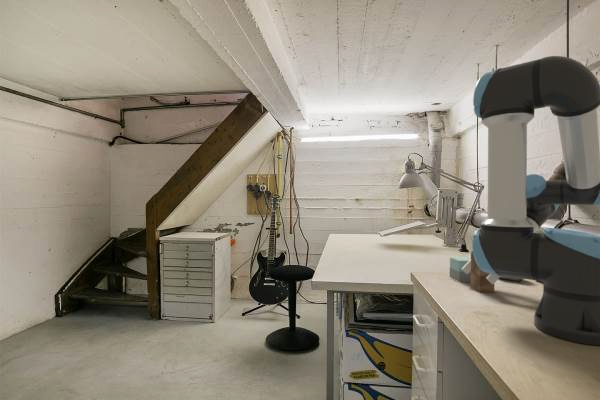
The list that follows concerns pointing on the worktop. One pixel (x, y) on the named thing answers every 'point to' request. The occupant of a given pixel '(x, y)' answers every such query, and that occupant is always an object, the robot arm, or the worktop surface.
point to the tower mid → (458, 263)
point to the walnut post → (479, 278)
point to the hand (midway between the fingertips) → (476, 276)
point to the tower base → (460, 276)
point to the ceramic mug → (511, 278)
